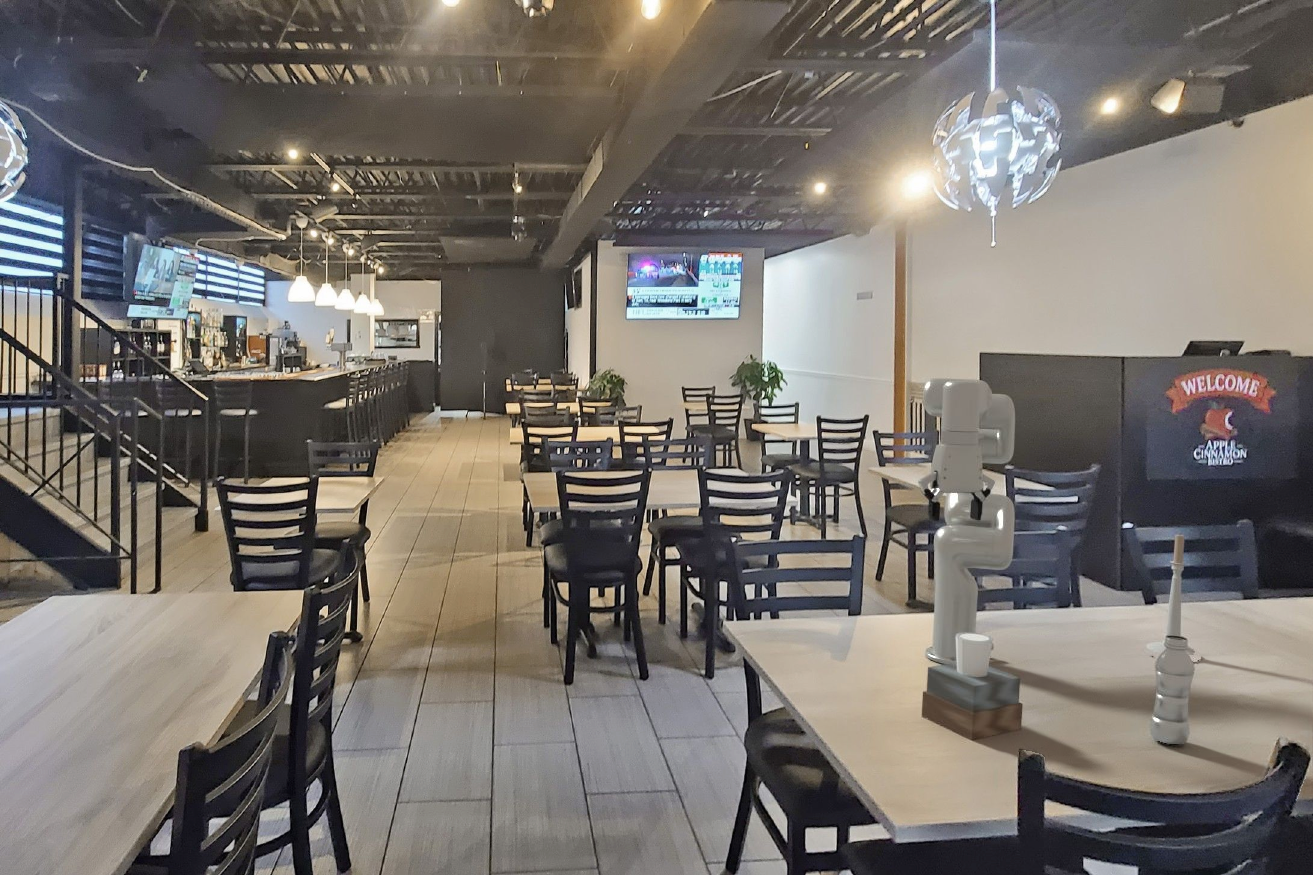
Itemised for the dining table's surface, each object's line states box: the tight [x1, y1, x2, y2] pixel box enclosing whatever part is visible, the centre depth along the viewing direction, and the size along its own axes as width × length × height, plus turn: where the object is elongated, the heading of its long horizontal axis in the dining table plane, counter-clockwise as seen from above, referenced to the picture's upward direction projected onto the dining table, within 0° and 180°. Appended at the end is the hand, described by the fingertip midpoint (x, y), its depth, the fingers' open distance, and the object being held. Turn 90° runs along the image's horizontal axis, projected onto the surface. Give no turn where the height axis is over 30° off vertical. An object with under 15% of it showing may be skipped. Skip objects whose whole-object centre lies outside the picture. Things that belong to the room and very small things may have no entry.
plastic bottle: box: [1149, 635, 1196, 745], centre depth 181 cm, size 6×7×20 cm
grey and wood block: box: [921, 662, 1024, 741], centre depth 189 cm, size 13×13×10 cm
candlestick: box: [1145, 534, 1196, 655], centre depth 237 cm, size 13×13×30 cm
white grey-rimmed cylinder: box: [956, 632, 993, 677], centre depth 188 cm, size 7×7×7 cm
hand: (954, 519), depth 207 cm, fingers open, 9 cm apart
